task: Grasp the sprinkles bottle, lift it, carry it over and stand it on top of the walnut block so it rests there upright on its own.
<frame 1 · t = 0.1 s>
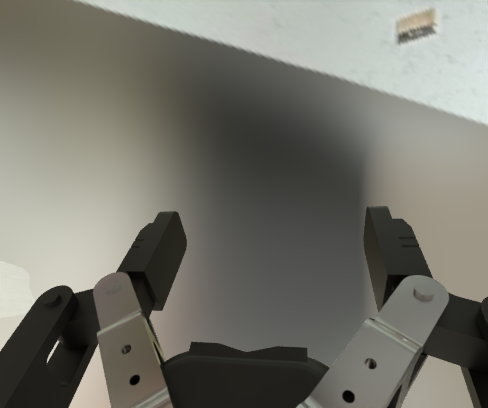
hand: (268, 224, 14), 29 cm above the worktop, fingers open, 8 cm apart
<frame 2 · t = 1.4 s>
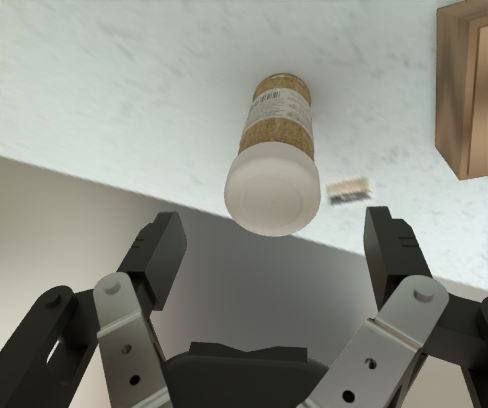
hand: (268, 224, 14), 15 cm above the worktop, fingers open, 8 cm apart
sprinkles bottle: (282, 100, 26), on the worktop
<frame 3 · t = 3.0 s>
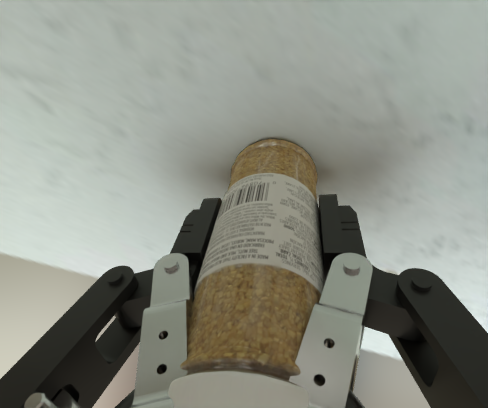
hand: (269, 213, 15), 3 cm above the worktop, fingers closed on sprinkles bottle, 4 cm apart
sprinkles bottle: (274, 172, 17), on the worktop, touching gripper
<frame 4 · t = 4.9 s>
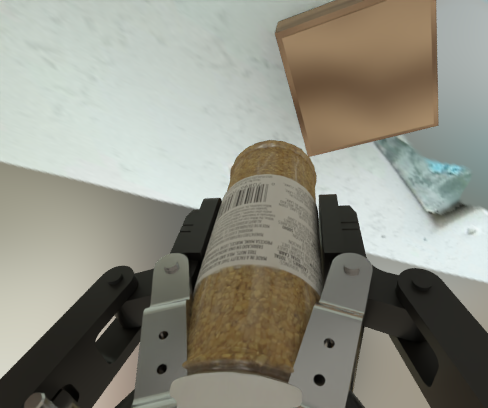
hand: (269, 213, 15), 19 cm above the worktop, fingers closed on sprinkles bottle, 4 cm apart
sprinkles bottle: (274, 173, 18), point 15 cm above the worktop, touching gripper
walnut block: (351, 63, 28), on the worktop
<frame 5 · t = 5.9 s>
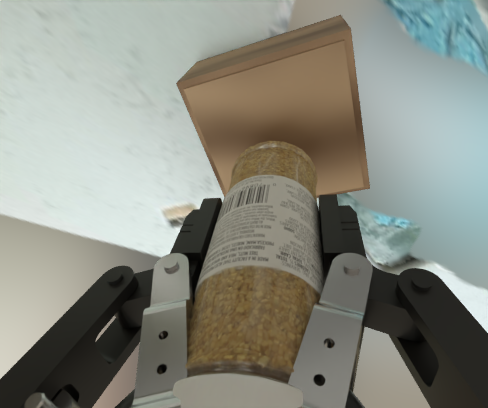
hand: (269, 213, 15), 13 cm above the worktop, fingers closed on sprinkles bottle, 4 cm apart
sprinkles bottle: (275, 174, 18), point 9 cm above the worktop, touching gripper
walnut block: (282, 109, 25), on the worktop
when the fingers open (9 cm above the worktop, at t = 6.9 s): sprinkles bottle stays where it is, point 5 cm above the worktop.
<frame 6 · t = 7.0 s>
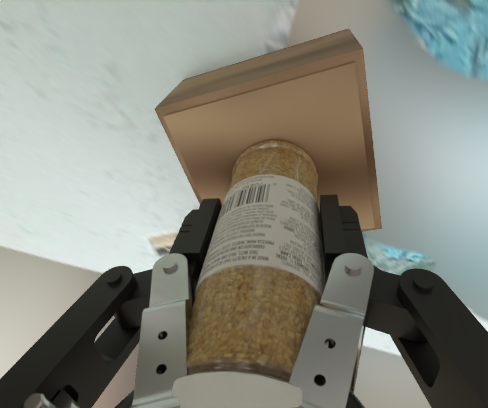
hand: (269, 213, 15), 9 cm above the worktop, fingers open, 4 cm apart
sprinkles bottle: (275, 173, 18), point 5 cm above the worktop
walnut block: (280, 134, 22), on the worktop
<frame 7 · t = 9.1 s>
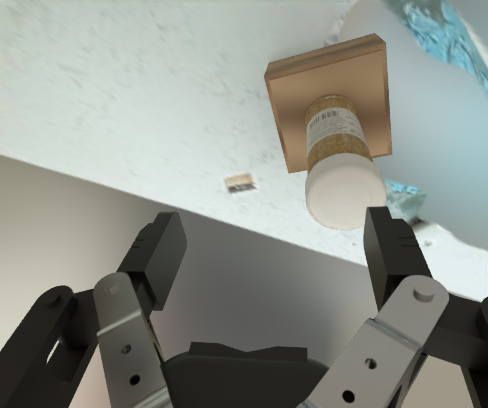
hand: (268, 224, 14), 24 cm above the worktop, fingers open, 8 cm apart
sprinkles bottle: (330, 117, 30), point 5 cm above the worktop, touching walnut block
walnut block: (327, 99, 34), on the worktop
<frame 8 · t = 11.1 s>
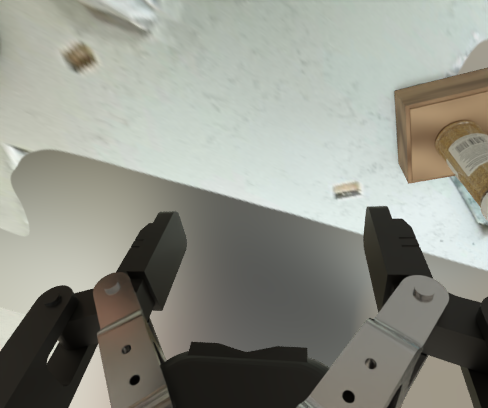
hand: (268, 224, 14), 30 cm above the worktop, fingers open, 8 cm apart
sprinkles bottle: (456, 137, 36), point 5 cm above the worktop, touching walnut block
walnut block: (440, 119, 40), on the worktop
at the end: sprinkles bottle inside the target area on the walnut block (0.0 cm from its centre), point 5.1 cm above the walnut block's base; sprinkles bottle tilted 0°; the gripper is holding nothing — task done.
